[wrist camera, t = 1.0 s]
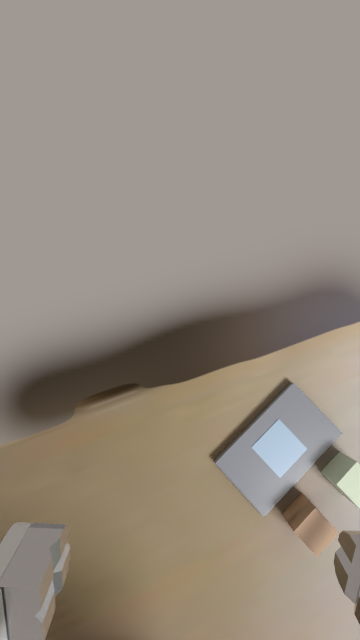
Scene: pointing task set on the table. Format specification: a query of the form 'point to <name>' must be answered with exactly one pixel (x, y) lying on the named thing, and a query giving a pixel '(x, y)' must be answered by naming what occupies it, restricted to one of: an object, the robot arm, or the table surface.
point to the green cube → (344, 476)
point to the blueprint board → (277, 448)
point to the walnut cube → (309, 524)
